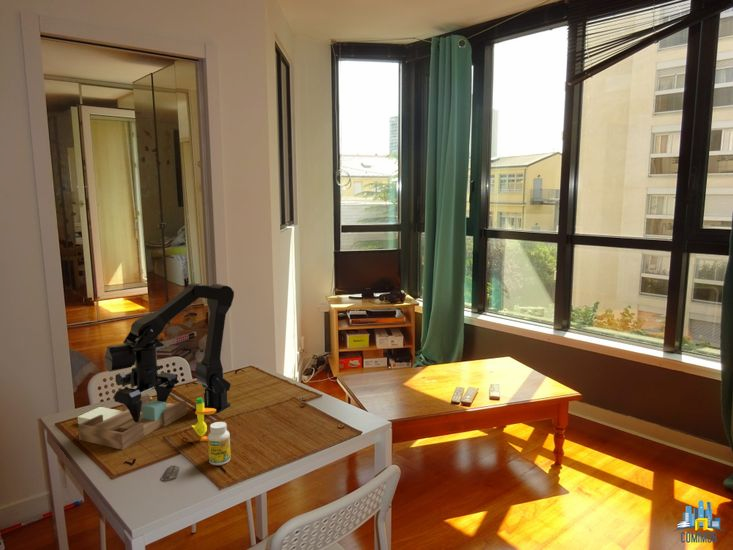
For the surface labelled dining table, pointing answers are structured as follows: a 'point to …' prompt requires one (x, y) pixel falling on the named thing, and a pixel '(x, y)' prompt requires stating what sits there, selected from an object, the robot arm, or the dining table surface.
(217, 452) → the supplement bottle
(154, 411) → the block
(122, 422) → the box
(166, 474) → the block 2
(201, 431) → the toy figure
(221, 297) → the robot arm
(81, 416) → the board
